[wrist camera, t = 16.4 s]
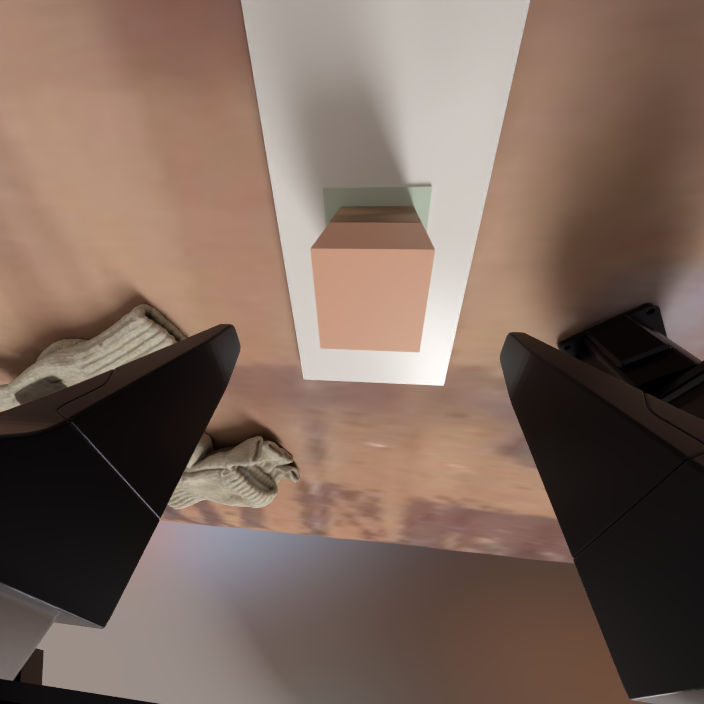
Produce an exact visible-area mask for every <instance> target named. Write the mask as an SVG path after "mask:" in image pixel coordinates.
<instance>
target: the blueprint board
mask: <svg viewBox="0 0 704 704" xmlns="http://www.w3.org/2000/svg"><path fill="white" fill-rule="evenodd" d="M529 3H530V0H241V4H242V10H243V16H244V22H245V28H246V34H247V40H248V46H249V52H250V58H251V64H252V70H253V76H254V82H255V88H256V94H257V100H258V107H259V113H260V119H261V125H262V131H263V137H264V143H265V149H266V155H267V161H268V167H269V173H270V179H271V185H272V191H273V197H274V203H275V209H276V215H277V221H278V227H279V233H280V239H281V245H282V251H283V257H284V263H285V269H286V275H287V281H288V288H289V294H290V300H291V306H292V312H293V318H294V324H295V330H296V336H297V342H298V348H299V354H300V360H301V366H302V372H303V378H304V379H309V380H332V381H354V382H376V383H398V384H420V385H442V386H444V382H445V377H446V373H447V369H448V364H449V360H450V355H451V351H452V346H453V342H454V337H455V333H456V328H457V324H458V320H459V315H460V311H461V306H462V302H463V297H464V293H465V288H466V284H467V279H468V275H469V271H470V266H471V262H472V257H473V253H474V248H475V244H476V239H477V235H478V231H479V226H480V222H481V217H482V213H483V208H484V204H485V199H486V195H487V190H488V186H489V182H490V177H491V173H492V168H493V164H494V159H495V155H496V150H497V146H498V141H499V137H500V133H501V128H502V124H503V119H504V115H505V110H506V106H507V101H508V97H509V92H510V88H511V84H512V79H513V75H514V70H515V66H516V61H517V57H518V52H519V48H520V43H521V39H522V35H523V30H524V26H525V21H526V17H527V12H528V8H529ZM352 206H414V208H415V210H416V212H417V214H418V216H419V218H420V220H421V222H422V224H423V226H424V228H425V230H426V232H427V234H428V236H429V238H430V240H431V242H432V244H433V246H434V248H435V254H434V260H433V267H432V273H431V280H430V287H429V293H428V300H427V306H426V313H425V319H424V326H423V333H422V339H421V346H420V352H396V351H372V350H347V349H323V348H320V339H319V329H318V319H317V310H316V300H315V290H314V280H313V270H312V260H311V250H310V248H311V247H312V245H313V244H314V243H315V241H316V240H317V239H318V237H319V236H320V235H321V233H322V232H323V231H324V229H325V228H326V227H327V225H328V224H329V222H330V220H331V219H332V218H333V216H334V215H335V214H336V212H337V211H338V210H339V208H340V207H352Z"/></svg>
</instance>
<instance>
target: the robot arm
mask: <svg viewBox="0 0 704 704" xmlns="http://www.w3.org/2000/svg"><path fill="white" fill-rule="evenodd" d="M649 309H650V310H649ZM648 310H649V311H648ZM647 311H648V312H647ZM567 345H568V346H567ZM565 346H567V347H565ZM564 347H565V348H564ZM558 348H559V350H558V349H556V348H554V347H552V346H550V345H548V344H546V343H544V342H542V341H540V340H538V339H536V338H534V337H532V336H530V335H528V334H526V333H522V332H510V333H509V334H508V335H507V337H506V339H505V342H504V345H503V348H502V351H501V354H500V362H501V366H502V370H503V374H504V378H505V382H506V386H507V390H508V394H509V397H510V400H511V403H512V406H513V409H514V411H515V414H516V416H517V419H518V421H519V424H520V426H521V429H522V431H523V434H524V436H525V439H526V441H527V444H528V446H529V449H530V451H531V454H532V456H533V459H534V461H535V464H536V467H537V469H538V472H539V474H540V477H541V479H542V482H543V484H544V487H545V489H546V492H547V494H548V497H549V499H550V502H551V504H552V507H553V509H554V512H555V514H556V517H557V519H558V522H559V525H560V527H561V530H562V532H563V535H564V537H565V540H566V542H567V545H568V547H569V550H570V552H571V555H572V557H573V558H574V559H573V560H574V563H575V566H576V568H577V571H578V573H579V576H580V578H581V581H582V583H583V585H584V588H585V591H586V593H587V596H588V598H589V601H590V603H591V606H592V608H593V611H594V613H595V616H596V618H597V620H598V623H599V626H600V628H601V631H602V633H603V636H604V638H605V641H606V644H607V646H608V648H609V651H610V654H611V656H612V659H613V661H614V664H615V666H616V668H617V671H618V674H619V676H620V679H621V681H622V684H623V686H624V688H625V691H626V693H627V695H628V697H629V698H630V699H631V700H634V701H642V702H649V703H657V704H704V361H701V360H699V359H698V358H696V357H695V356H694V355H692V354H691V353H689V352H688V351H686V350H685V349H683V348H682V347H680V346H679V345H677V344H676V343H674V342H673V341H671V340H670V339H668V338H667V336H666V332H665V328H664V324H663V320H662V316H661V313H660V309H659V307H658V306H657V305H655V304H653V303H647V304H645V305H642V306H640V307H638V308H636V309H633V310H631V311H629V312H627V313H624V314H622V315H620V316H618V317H615V318H613V319H611V320H609V321H606V322H604V323H602V324H600V325H597V326H595V327H593V328H591V329H589V330H586V331H584V332H582V333H580V334H577V335H575V336H573V337H571V338H568V339H566V340H564V341H562V342H560V343H559V345H558ZM239 353H240V342H239V339H238V336H237V333H236V329H235V327H234V326H233V325H231V324H220V325H217V326H215V327H212V328H210V329H208V330H205V331H203V332H200V333H198V334H196V335H193V336H191V337H188V338H186V339H184V340H181V341H179V342H176V343H174V344H172V345H169V346H167V347H164V348H162V349H160V350H157V351H155V352H152V353H150V354H148V355H145V356H143V357H140V358H138V359H136V360H133V361H131V362H128V363H126V364H124V365H121V366H119V367H116V368H115V369H112V370H109V371H107V372H104V373H102V374H100V375H97V376H95V377H92V378H90V379H87V380H85V381H82V382H80V383H77V384H75V385H72V386H69V387H67V388H64V389H62V390H59V391H56V392H54V393H51V394H48V395H46V396H43V397H40V398H38V399H35V400H32V401H30V402H27V403H24V404H21V405H19V406H16V407H13V408H11V409H8V410H5V411H3V412H0V704H157V703H151V702H144V701H138V700H132V699H126V698H119V697H112V696H107V695H100V694H94V693H87V692H81V691H75V690H69V689H62V688H56V687H49V686H43V685H42V669H43V650H40V649H36V647H37V646H38V644H39V643H40V642H41V640H42V639H43V637H44V636H45V634H46V633H47V631H48V630H49V629H50V627H51V626H52V624H53V623H54V622H55V623H63V624H70V625H78V626H85V627H92V628H100V629H103V628H104V627H105V626H106V624H107V622H108V620H109V619H110V617H111V615H112V613H113V612H114V610H115V607H116V606H117V604H118V602H119V600H120V598H121V596H122V594H123V591H124V589H125V588H126V586H127V584H128V582H129V580H130V578H131V576H132V574H133V572H134V570H135V568H136V566H137V564H138V562H139V560H140V558H141V556H142V554H143V552H144V550H145V548H146V546H147V544H148V542H149V540H150V538H151V536H152V534H153V532H154V530H155V528H156V527H157V525H158V523H159V519H160V518H161V516H162V514H163V512H164V510H165V508H166V506H167V504H168V502H169V500H170V498H171V496H172V494H173V493H174V491H175V489H176V487H177V485H178V483H179V481H180V479H181V477H182V475H183V473H184V471H185V469H186V467H187V465H188V463H189V461H190V459H191V457H192V455H193V453H194V451H195V449H196V447H197V445H198V443H199V441H200V439H201V437H202V435H203V433H204V431H205V429H206V427H207V425H208V423H209V421H210V419H211V417H212V415H213V413H214V411H215V410H216V408H217V406H218V404H219V402H220V400H221V398H222V396H223V394H224V392H225V390H226V387H227V385H228V383H229V380H230V377H231V375H232V372H233V369H234V366H235V364H236V361H237V358H238V356H239Z"/></svg>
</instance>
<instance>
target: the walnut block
mask: <svg viewBox="0 0 704 704" xmlns="http://www.w3.org/2000/svg"><path fill="white" fill-rule="evenodd" d="M330 222H421V220H420V218H419V216H418V214H417V212H416V210H415V208H414V206H352V207H340V208H339V210H338V211H337V212H336V214H335V215H334V216H333V218H332V219H331V220H330ZM330 222H329V223H330Z"/></svg>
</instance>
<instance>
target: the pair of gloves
mask: <svg viewBox="0 0 704 704" xmlns="http://www.w3.org/2000/svg"><path fill="white" fill-rule="evenodd" d="M184 339H186V337H185V336H184V335H183V333H182V332H181V331H180V330H179V329H177V328H176V327H175V326H174V325H173V324H172V323H171V322H169V321H168V320H167V319H166V318H165V317H164V316H163V315H162V314H161V313H160V312H159V311H158V310H157V309H155V308H154V307H152V306H150V305H147V304H140V305H138V306H137V307H135V308H134V309H132V311H131V312H130V313H128V314H126V315H125V316H123V317H122V318H121V319H120V320H119V321H118V322H116V323H115V324H114V325H112V326H111V327H110V328H108V329H107V330H105V331H104V332H102V333H101V334H100V335H98V336H96V337H94V338H92V339H91V340H85V339H71V338H68V339H62V340H59V341H56V342H54V343H52V344H51V345H50V346H48V347H47V348H46V349H45V350H44V351H43V352H42V353H41V354H40V356H39V357H38V359H37V361H36V363H34V364H33V365H31V366H30V367H28V368H27V369H26V370H25V371H24V372H22V373H21V374H20V375H19V376H18V377H17V378H15V379H14V380H12V381H11V382H10V383H9V384H5V385H0V410H8V409H11V408H13V407H16V406H19V405H21V404H24V403H27V402H30V401H32V400H35V399H38V398H40V397H43V396H46V395H48V394H51V393H54V392H56V391H59V390H62V389H64V388H67V387H69V386H72V385H75V384H77V383H80V382H82V381H85V380H87V379H90V378H92V377H95V376H97V375H100V374H102V373H104V372H107V371H109V370H112V369H115V368H116V367H119V366H121V365H124V364H126V363H128V362H131V361H133V360H136V359H138V358H140V357H143V356H145V355H148V354H150V353H152V352H155V351H157V350H160V349H162V348H164V347H167V346H169V345H172V344H174V343H176V342H179V341H181V340H184ZM292 461H293V457H292V456H291V455H290V454H289V453H288V452H287V451H286V450H284V449H283V448H279V447H278V445H276V443H274V442H272V441H263V438H262V437H260V436H256V437H253V438H249V439H247V440H246V441H244V442H243V443H241V444H239V445H238V446H236V447H225V448H221V449H217V450H215V451H214V448H213V445H212V440H211V437H210V436H208V435H207V434H206V433H203V435H202V437H201V439H200V441H199V443H198V445H197V447H196V449H195V451H194V453H193V455H192V457H191V459H190V461H189V463H188V465H187V467H186V469H185V471H184V473H183V475H182V477H181V479H180V481H179V483H178V485H177V487H176V489H175V491H174V493H173V494H172V496H171V498H170V500H169V502H168V505H169V506H170V507H173V508H174V509H182V508H185V507H187V506H190V505H193V504H195V503H197V502H200V501H202V500H205V499H206V500H211V501H214V502H216V503H220V504H223V505H230V506H242V507H246V506H248V507H252V508H260V507H264V506H266V505H268V504H269V503H270V502H271V501H272V500H273V499H274V498H275V496H276V495H277V486H276V484H277V483H279V482H280V481H281V478H286V479H289V480H291V481H293V482H297V481H299V479H300V475H299V472H298V470H297V469H296V468H295V467H291V466H289V465H286V464H289V463H291V462H292Z"/></svg>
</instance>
